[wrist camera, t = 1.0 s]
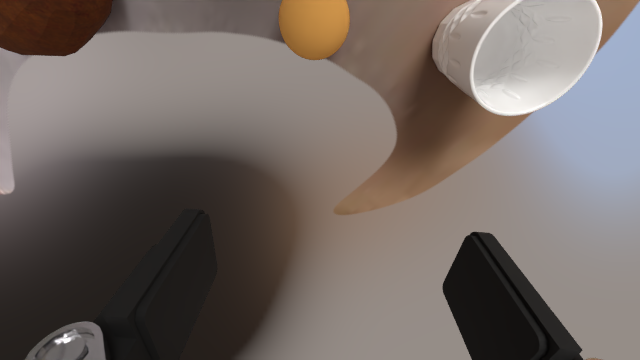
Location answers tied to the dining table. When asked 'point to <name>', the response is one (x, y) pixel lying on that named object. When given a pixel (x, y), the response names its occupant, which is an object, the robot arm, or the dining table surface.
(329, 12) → the ball
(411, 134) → the dining table surface
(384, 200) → the dining table surface
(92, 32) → the potato
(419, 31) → the dining table surface
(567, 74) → the white cup
